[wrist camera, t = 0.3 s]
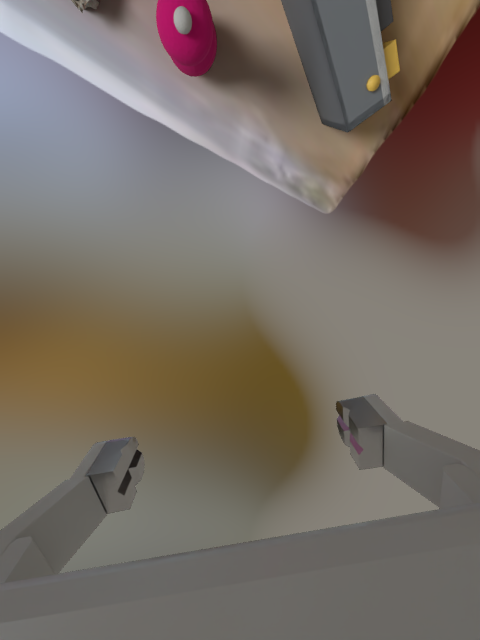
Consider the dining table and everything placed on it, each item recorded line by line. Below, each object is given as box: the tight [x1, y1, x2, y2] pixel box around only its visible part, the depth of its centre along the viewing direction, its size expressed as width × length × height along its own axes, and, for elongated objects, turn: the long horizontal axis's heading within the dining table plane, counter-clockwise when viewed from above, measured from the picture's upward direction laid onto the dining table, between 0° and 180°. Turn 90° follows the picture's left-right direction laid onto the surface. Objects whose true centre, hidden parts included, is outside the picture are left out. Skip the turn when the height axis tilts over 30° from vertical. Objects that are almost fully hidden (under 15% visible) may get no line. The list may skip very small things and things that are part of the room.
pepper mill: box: [156, 0, 217, 76], centre depth 31 cm, size 7×7×20 cm
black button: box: [376, 0, 393, 31], centre depth 33 cm, size 4×4×4 cm
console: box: [281, 0, 392, 132], centre depth 35 cm, size 18×6×13 cm, turn 34°
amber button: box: [383, 40, 400, 80], centre depth 36 cm, size 4×4×4 cm
